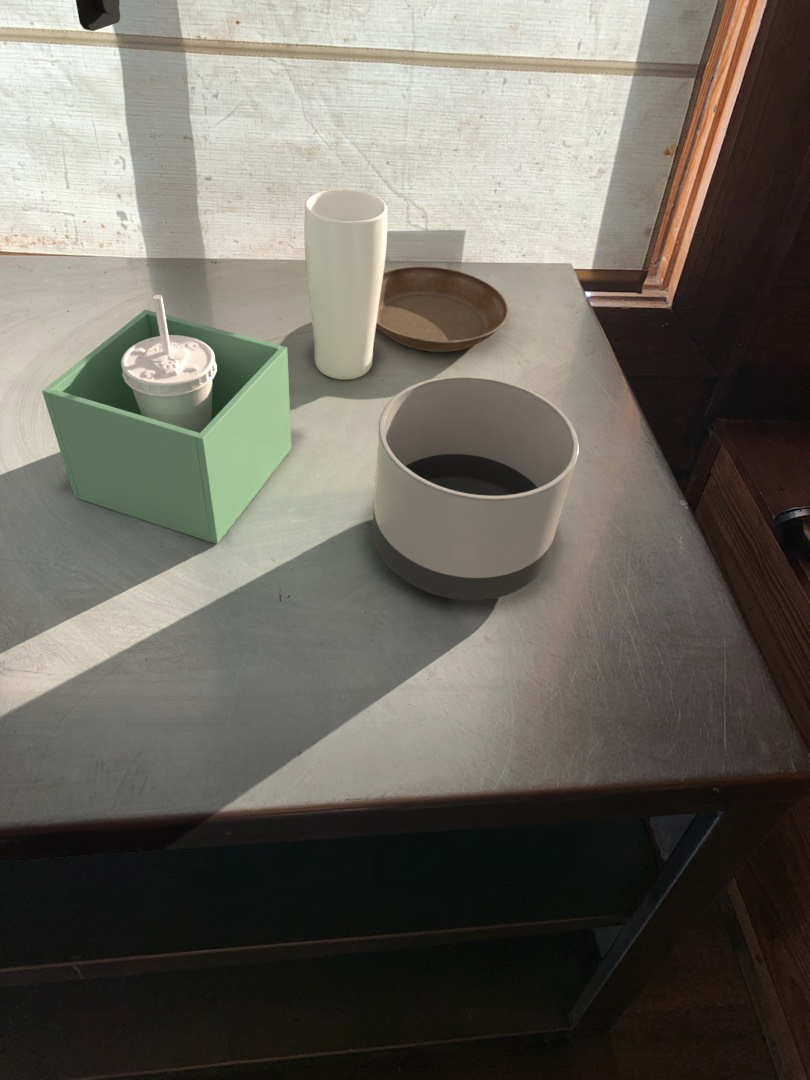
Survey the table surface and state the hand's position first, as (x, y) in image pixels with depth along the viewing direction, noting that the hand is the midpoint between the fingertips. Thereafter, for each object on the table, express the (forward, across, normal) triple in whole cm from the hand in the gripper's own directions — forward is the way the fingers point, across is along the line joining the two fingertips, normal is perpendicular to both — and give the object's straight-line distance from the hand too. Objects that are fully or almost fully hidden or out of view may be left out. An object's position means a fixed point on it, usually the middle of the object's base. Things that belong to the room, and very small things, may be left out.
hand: (35, 11), depth 50 cm
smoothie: (+27, +12, -8) cm, 31 cm away
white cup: (+28, +17, +11) cm, 34 cm away
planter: (+27, +34, -6) cm, 44 cm away
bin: (+28, +12, -8) cm, 31 cm away
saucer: (+28, +22, +22) cm, 42 cm away
